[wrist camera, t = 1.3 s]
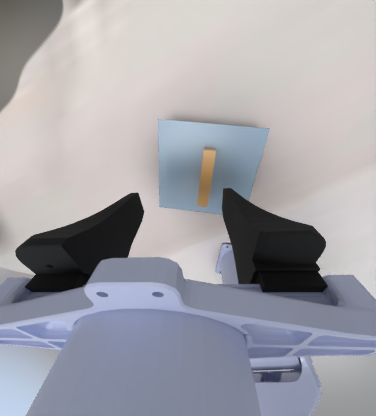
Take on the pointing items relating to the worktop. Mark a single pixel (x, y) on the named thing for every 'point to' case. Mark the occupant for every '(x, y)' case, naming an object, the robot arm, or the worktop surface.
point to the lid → (206, 163)
